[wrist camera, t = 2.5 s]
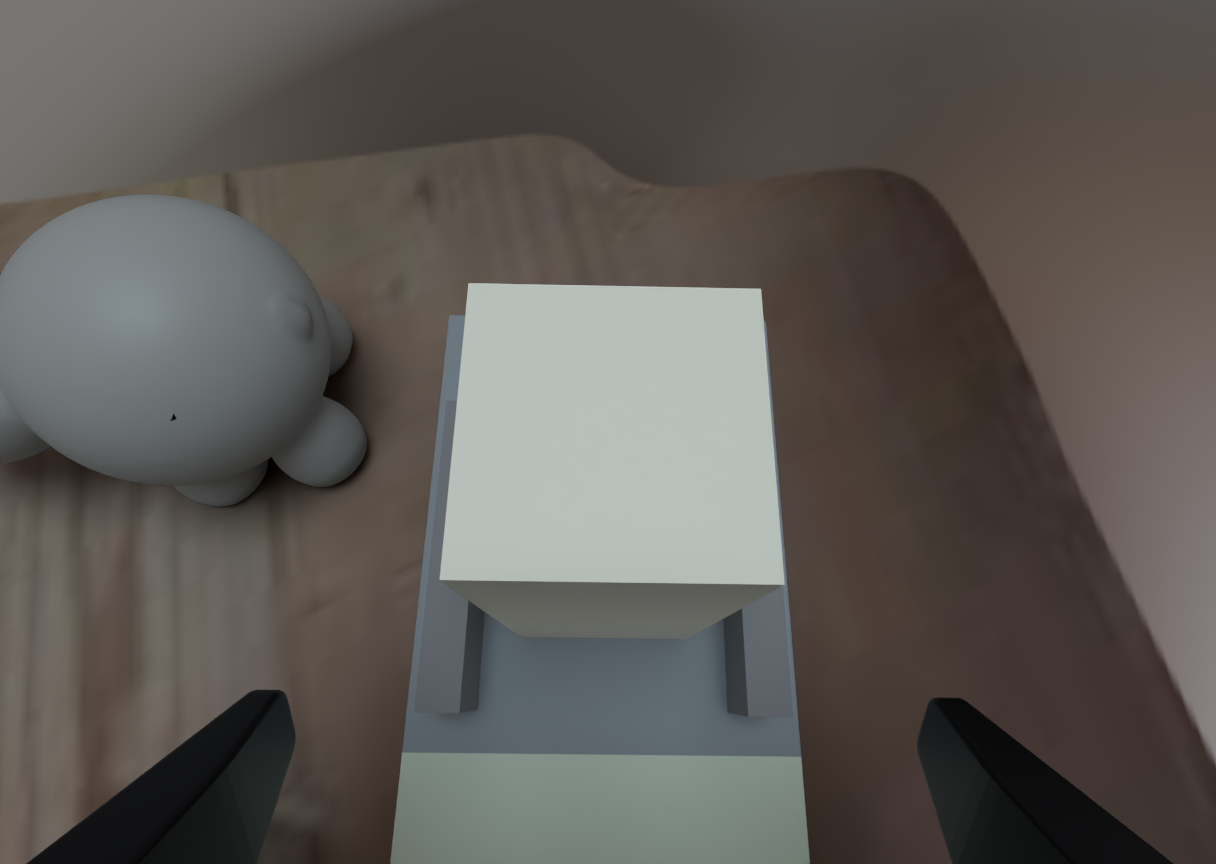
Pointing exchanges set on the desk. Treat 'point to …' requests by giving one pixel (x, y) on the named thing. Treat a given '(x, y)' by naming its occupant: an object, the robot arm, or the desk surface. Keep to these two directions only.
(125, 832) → the robot arm
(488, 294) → the block
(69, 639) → the desk surface
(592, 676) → the channel
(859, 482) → the desk surface
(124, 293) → the grey rounded figurine
